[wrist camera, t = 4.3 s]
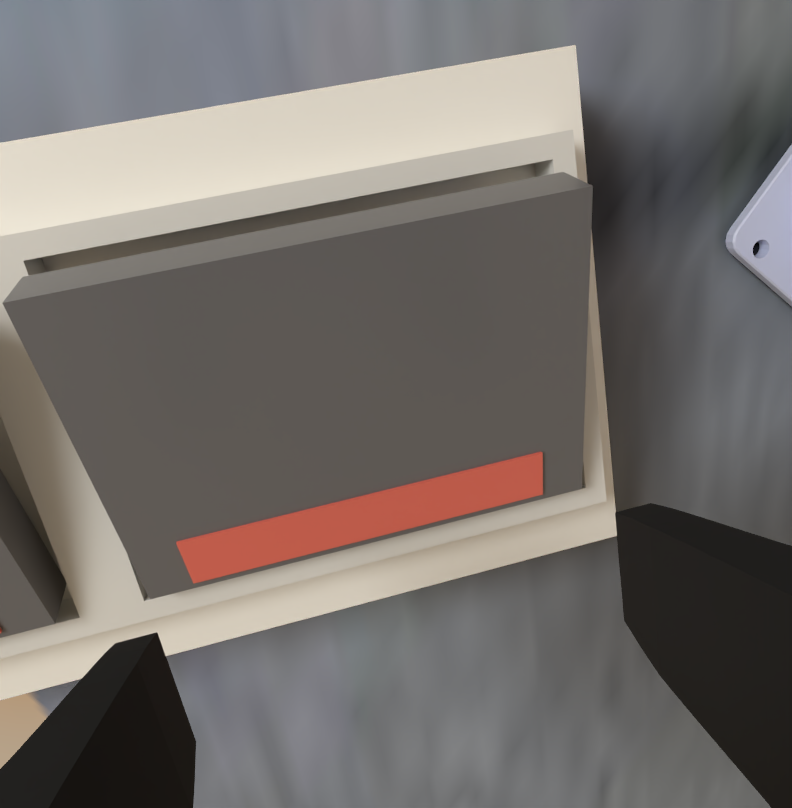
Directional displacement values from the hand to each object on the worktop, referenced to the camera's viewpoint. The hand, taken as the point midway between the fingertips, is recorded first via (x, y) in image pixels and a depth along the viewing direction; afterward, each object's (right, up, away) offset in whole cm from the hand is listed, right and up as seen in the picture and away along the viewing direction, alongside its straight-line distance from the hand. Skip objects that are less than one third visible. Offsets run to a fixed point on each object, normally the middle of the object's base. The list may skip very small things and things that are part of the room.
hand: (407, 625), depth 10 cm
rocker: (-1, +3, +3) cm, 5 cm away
